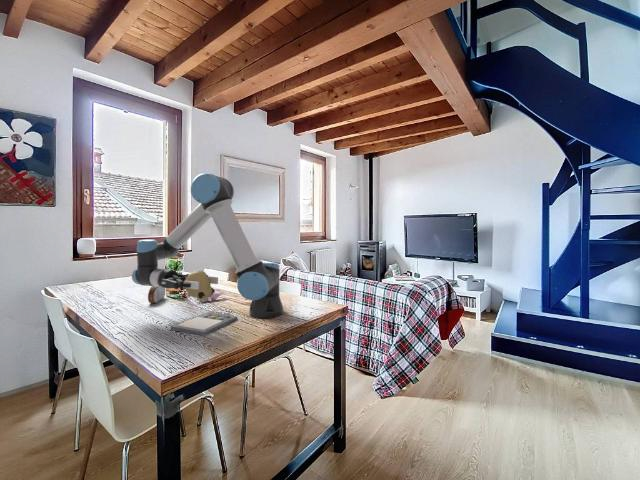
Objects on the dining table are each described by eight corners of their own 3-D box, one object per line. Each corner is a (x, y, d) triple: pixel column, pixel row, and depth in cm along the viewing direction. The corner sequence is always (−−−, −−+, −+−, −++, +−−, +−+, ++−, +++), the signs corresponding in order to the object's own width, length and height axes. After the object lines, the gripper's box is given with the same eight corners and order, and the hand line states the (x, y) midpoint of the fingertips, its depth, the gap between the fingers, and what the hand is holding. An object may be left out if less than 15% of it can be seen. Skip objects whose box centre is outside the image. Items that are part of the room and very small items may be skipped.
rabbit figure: (201, 307, 155) (228, 297, 165) (198, 295, 154) (226, 286, 164) (196, 304, 160) (223, 294, 170) (193, 293, 159) (221, 284, 168)
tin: (160, 297, 167) (160, 282, 167) (167, 297, 167) (166, 282, 167) (147, 305, 152) (146, 288, 152) (154, 305, 152) (153, 288, 152)
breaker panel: (237, 319, 132) (237, 312, 132) (203, 335, 114) (203, 327, 114) (207, 314, 138) (207, 308, 138) (170, 329, 120) (170, 321, 119)
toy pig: (189, 309, 118) (202, 294, 114) (175, 283, 122) (187, 267, 117) (210, 302, 127) (223, 288, 122) (197, 278, 130) (209, 263, 125)
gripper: (186, 282, 139) (227, 286, 131) (141, 293, 118) (186, 299, 110) (185, 265, 139) (226, 269, 131) (140, 273, 118) (186, 278, 110)
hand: (208, 283), depth 120 cm, fingers closed on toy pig, 10 cm apart
